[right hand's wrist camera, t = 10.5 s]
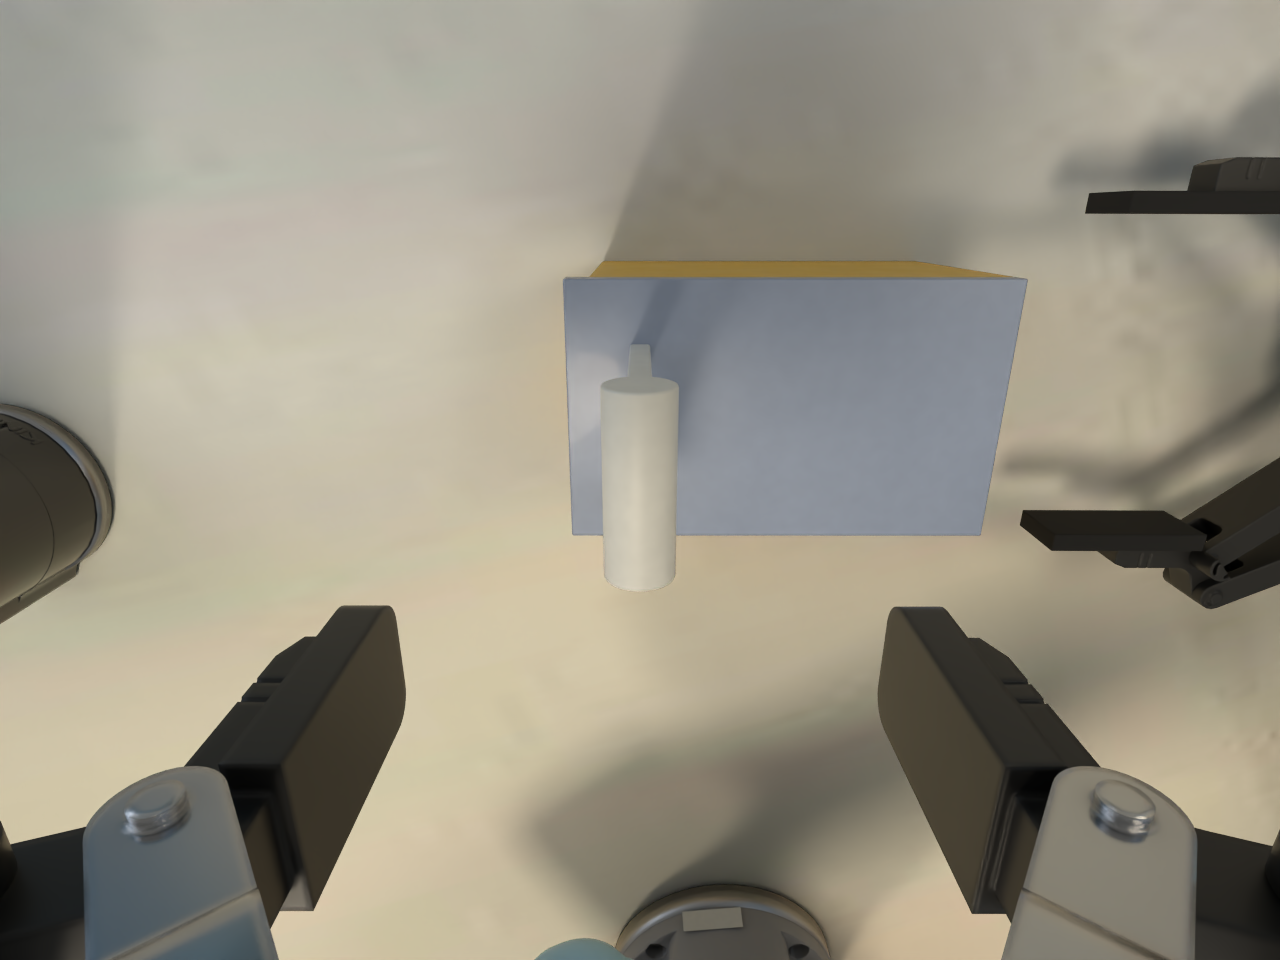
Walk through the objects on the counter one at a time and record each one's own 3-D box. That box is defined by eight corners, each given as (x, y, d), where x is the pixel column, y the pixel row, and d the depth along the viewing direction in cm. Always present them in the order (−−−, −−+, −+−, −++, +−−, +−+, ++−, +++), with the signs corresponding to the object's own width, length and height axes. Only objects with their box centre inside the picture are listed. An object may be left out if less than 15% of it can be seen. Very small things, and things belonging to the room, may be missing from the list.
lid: (574, 526, 28) (546, 657, 20) (565, 277, 25) (526, 307, 16) (970, 526, 28) (1110, 657, 20) (1015, 276, 25) (1206, 307, 16)
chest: (605, 451, 37) (594, 526, 28) (602, 261, 34) (588, 276, 25) (891, 451, 37) (970, 526, 28) (916, 261, 34) (1015, 276, 25)
